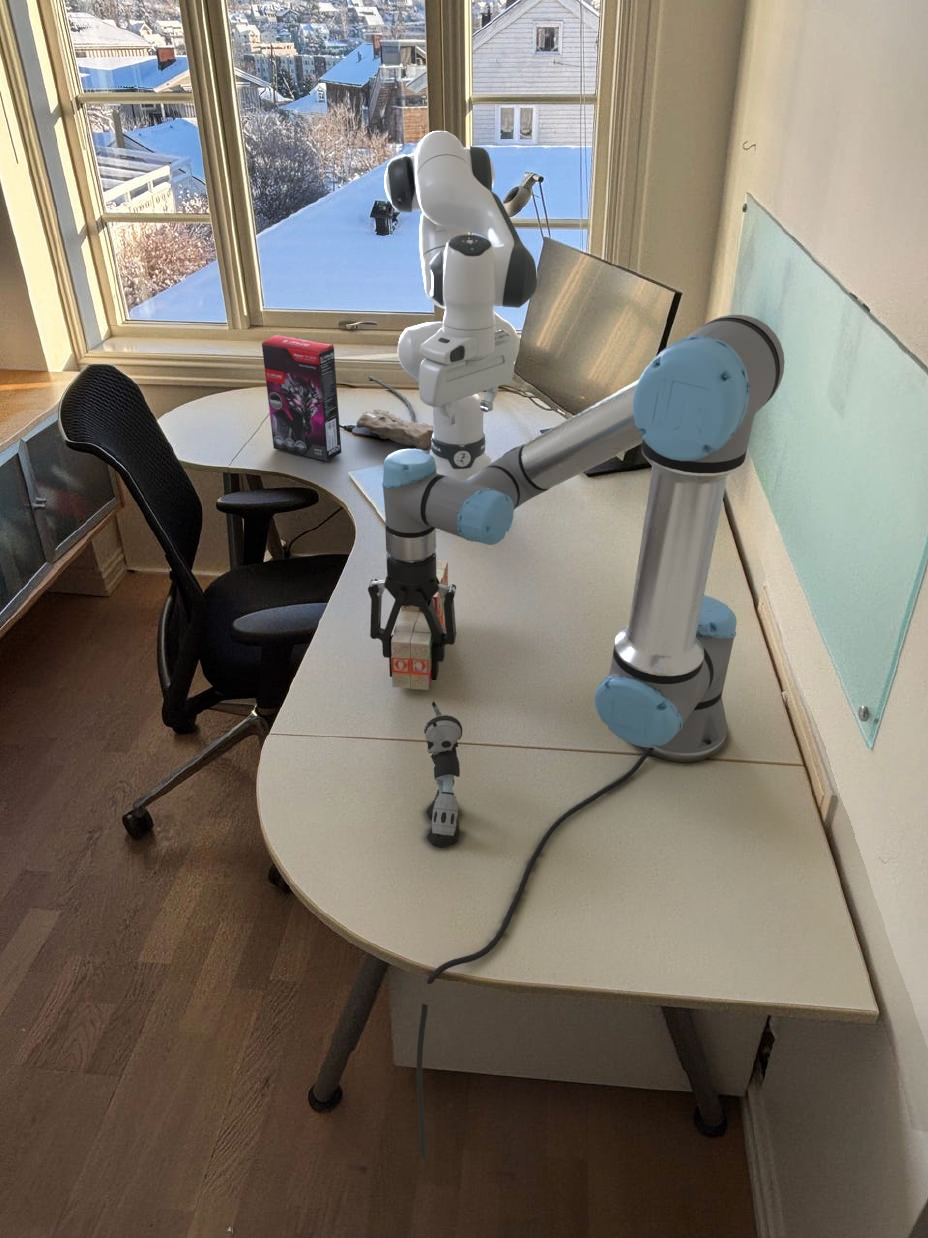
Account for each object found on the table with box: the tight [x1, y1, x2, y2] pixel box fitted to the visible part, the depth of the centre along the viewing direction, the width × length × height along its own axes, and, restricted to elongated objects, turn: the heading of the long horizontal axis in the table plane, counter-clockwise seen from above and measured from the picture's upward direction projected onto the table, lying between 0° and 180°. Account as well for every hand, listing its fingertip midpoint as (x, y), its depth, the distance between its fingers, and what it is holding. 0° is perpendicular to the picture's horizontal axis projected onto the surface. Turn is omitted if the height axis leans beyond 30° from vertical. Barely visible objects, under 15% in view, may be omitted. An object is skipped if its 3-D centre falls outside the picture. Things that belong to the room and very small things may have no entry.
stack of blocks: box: [391, 559, 449, 691], centre depth 154 cm, size 21×6×12 cm, turn 173°
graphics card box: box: [261, 334, 342, 462], centre depth 222 cm, size 17×7×27 cm, turn 62°
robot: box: [423, 701, 463, 848], centre depth 121 cm, size 20×5×20 cm, turn 3°
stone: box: [356, 409, 434, 450], centre depth 235 cm, size 21×15×6 cm
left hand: (468, 417), depth 164 cm, fingers open, 8 cm apart
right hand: (414, 673), depth 151 cm, fingers closed on stack of blocks, 6 cm apart
